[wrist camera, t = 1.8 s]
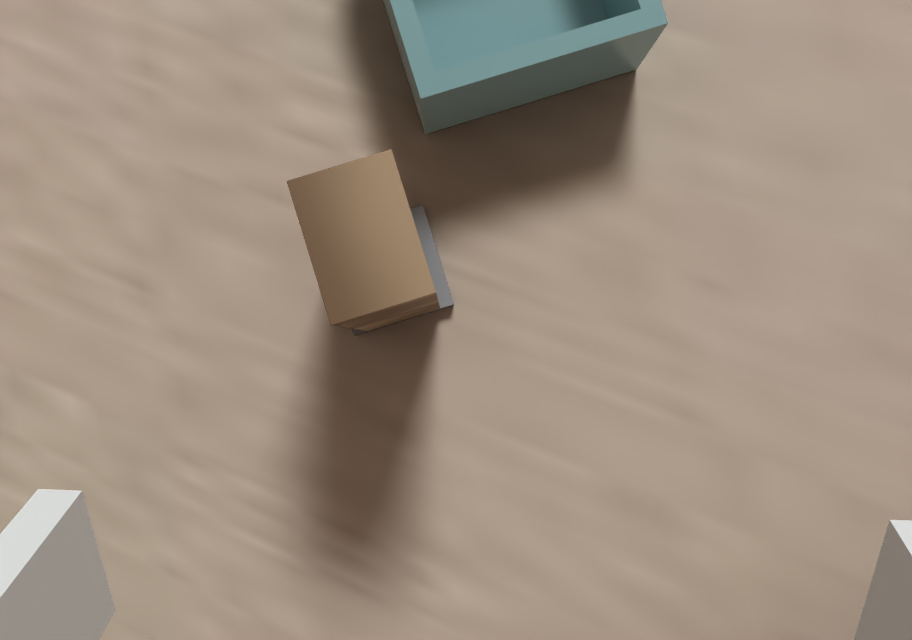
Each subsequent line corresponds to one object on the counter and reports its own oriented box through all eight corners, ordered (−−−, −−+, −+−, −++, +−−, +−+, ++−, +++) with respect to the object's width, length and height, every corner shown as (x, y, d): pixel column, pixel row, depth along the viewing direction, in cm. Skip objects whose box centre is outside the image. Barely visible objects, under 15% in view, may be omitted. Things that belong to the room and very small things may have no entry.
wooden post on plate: (423, 207, 34) (410, 143, 23) (453, 304, 34) (455, 286, 23) (325, 237, 34) (266, 187, 23) (355, 335, 34) (310, 331, 23)
